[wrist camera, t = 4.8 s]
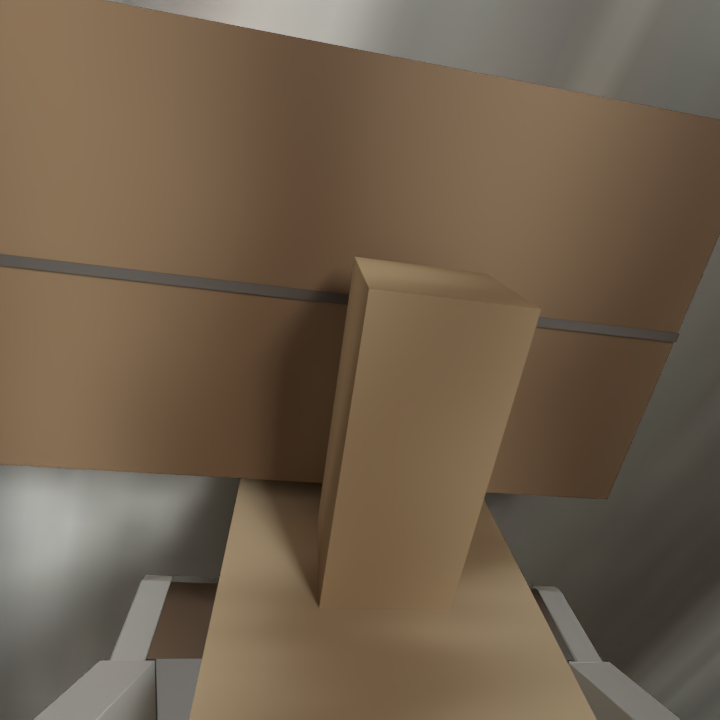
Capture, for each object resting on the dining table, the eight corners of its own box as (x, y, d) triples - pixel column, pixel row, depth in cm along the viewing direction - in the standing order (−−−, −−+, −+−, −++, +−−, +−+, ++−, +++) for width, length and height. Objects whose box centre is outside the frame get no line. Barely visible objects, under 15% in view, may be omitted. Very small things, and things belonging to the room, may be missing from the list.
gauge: (513, 253, 10) (914, 444, 3) (426, 579, 13) (539, 988, 7) (263, 219, 9) (146, 378, 2) (240, 574, 12) (166, 1027, 6)
